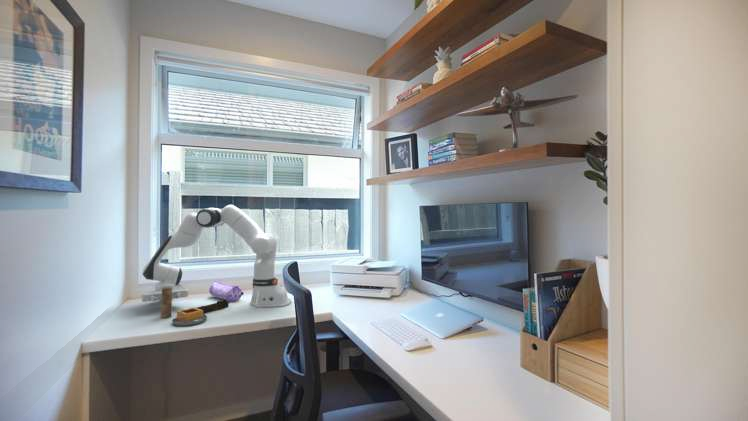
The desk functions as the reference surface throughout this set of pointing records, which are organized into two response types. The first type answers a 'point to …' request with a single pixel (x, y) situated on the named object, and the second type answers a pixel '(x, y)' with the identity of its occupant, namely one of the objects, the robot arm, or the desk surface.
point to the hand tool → (215, 306)
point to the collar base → (189, 317)
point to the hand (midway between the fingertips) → (166, 297)
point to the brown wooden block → (166, 302)
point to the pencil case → (225, 291)
